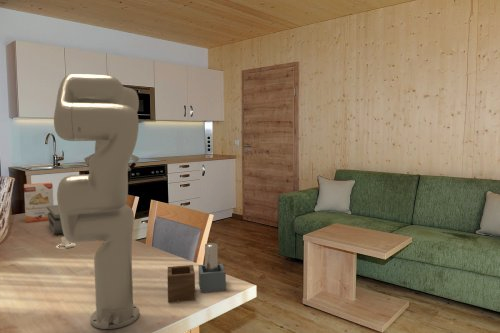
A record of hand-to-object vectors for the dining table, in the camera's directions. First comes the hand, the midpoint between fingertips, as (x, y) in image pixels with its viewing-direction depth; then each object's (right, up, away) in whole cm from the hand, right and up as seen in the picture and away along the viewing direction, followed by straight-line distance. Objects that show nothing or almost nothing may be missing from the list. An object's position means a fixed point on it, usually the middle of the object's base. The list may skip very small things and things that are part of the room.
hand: (112, 182), depth 128 cm
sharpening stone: (-50, -27, +65) cm, 86 cm away
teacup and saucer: (-35, -31, +36) cm, 59 cm away
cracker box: (-72, -25, +86) cm, 114 cm away
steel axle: (+34, -34, -4) cm, 48 cm away
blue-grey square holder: (+34, -34, -4) cm, 48 cm away
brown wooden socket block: (+25, -35, -11) cm, 44 cm away
